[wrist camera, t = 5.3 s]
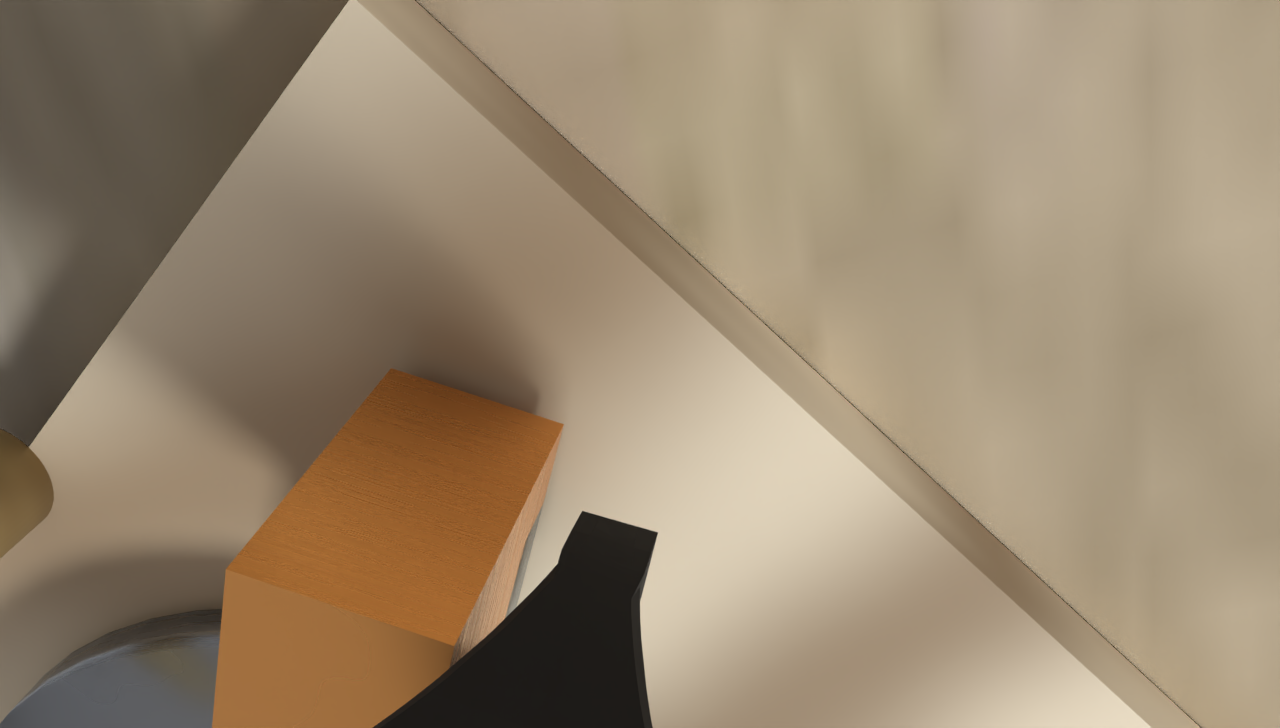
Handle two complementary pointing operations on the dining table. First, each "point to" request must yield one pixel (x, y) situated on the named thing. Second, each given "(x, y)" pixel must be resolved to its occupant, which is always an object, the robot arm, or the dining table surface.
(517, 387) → the board
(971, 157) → the dining table surface
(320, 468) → the flange plate
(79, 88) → the dining table surface
